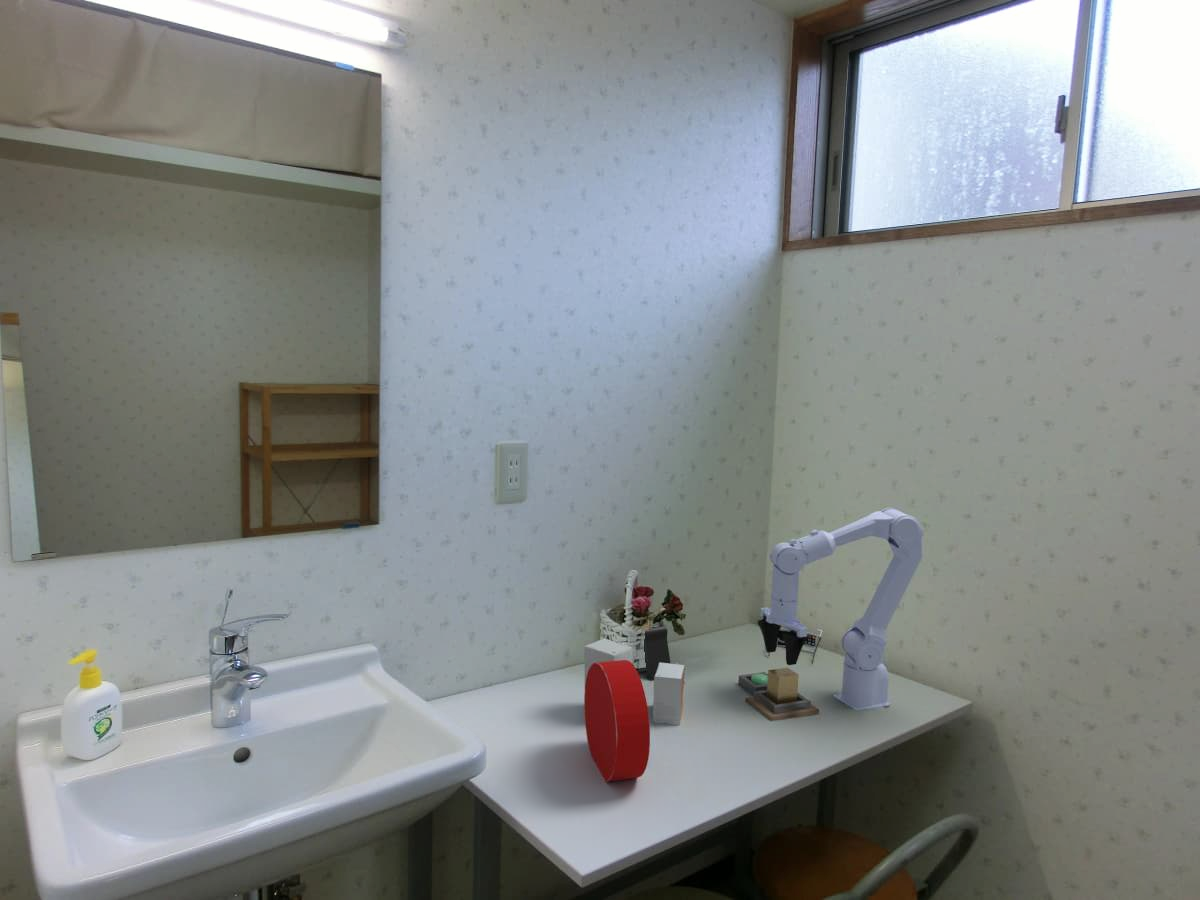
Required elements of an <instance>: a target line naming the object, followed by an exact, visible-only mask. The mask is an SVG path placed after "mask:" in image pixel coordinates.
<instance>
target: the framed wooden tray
mask: <svg viewBox="0 0 1200 900" xmlns="http://www.w3.org/2000/svg"><path fill="white" fill-rule="evenodd" d="M744 701H745V702H747V704H748V705H750V706H751V707H753V708H754V709H755V710H756V711H758V712H759V713H760V714H762V715H763V716H764V717H766V718H767V719H768V720H770V721H771V722H772V721H773V722H775V721H780V720H781V721H782V720H788V719H795V718H796V719H797V718H802V717H803V718H804V717H809V716H815V715H819V714H820V708H818V707H817V706H815V705H813V704H812V701H811V700H809V699H808V698H806V697H805V696H803V695H802V694H801V693H799V692H797V702H790V703H784V704H778V705H776V704H775V703H774V702H772V701H771V700H770V699H768V698H767V690H764V691H757V692H754V695H753V696H752V695H751V696H748V697H745V700H744Z"/></svg>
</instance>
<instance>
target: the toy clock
mask: <svg viewBox="0 0 1200 900" xmlns="http://www.w3.org/2000/svg"><path fill="white" fill-rule="evenodd" d="M583 697H584V698H583V699H584V700H583V701H584V702H583V703H584V705H583V708H584V724H585V732H586V739H587V746H588V750H589V754H590V756H591V759H592V760H593V761H594V763H595V766H596V767H597V769H598V770H599V772H600V773H599V774H601V776H602V778H603V780H604V782H605V783H609V782H615V781H616V782H617V781H623V780H629V779H630V780H631V779H638V778H640V777H642V776H643V774H645V771H646V769H647V766H648V762H649V756H650V747H651V729H650V728H651V727H650V716H649V715H650V714H649V707H648V702H647V697H646V693H645V689H644V686H643V681H642V680H641V675H640V674H639V671H638V670H636V668H635V667H634V665H633V664H632V663H631V662H630V661H628V660H619V661H607V662H595V663H593V664H592V665H591V666H590V668H589V670H588V673H587V677H586V683H585V682H584V695H583Z"/></svg>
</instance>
